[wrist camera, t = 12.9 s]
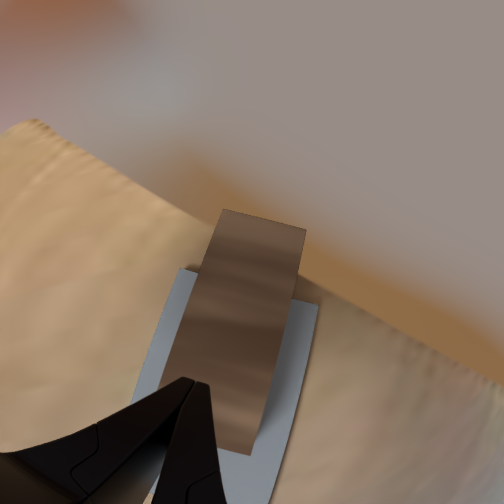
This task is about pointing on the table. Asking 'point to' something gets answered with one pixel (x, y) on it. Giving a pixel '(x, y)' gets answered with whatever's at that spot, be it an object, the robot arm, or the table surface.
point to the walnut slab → (238, 321)
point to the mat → (277, 404)
